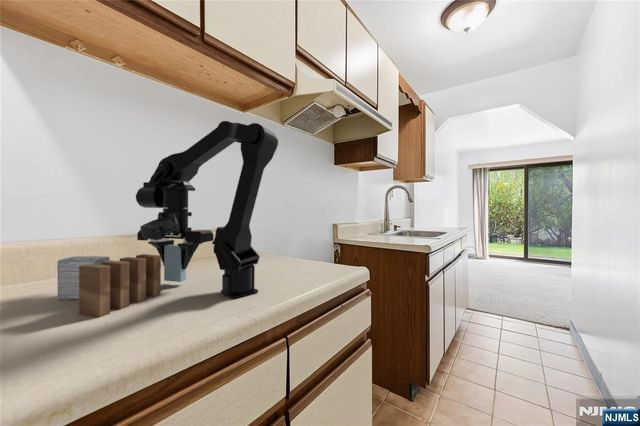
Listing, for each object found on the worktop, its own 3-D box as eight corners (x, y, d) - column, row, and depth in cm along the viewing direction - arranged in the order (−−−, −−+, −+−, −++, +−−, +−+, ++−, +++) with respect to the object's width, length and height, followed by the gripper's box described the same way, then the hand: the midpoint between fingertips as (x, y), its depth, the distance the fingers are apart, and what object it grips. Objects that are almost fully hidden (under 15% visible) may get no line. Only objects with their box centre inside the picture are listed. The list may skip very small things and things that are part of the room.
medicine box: (110, 293, 60) (110, 256, 60) (94, 300, 55) (94, 259, 55) (75, 293, 60) (75, 255, 60) (56, 300, 55) (56, 259, 55)
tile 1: (169, 278, 69) (169, 244, 68) (185, 280, 67) (186, 245, 67) (164, 280, 67) (164, 245, 67) (180, 282, 66) (180, 246, 66)
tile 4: (109, 303, 54) (110, 260, 53) (129, 306, 52) (129, 261, 52) (100, 306, 52) (100, 262, 52) (120, 309, 51) (120, 263, 51)
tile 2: (142, 292, 61) (143, 254, 61) (160, 294, 60) (160, 255, 60) (135, 294, 59) (135, 255, 59) (153, 296, 58) (154, 256, 58)
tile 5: (89, 310, 50) (89, 264, 50) (110, 313, 49) (110, 265, 49) (79, 314, 48) (79, 266, 48) (99, 317, 47) (100, 267, 47)
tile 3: (127, 297, 57) (127, 257, 57) (145, 299, 56) (146, 258, 56) (119, 300, 56) (119, 258, 55) (138, 302, 54) (138, 260, 54)
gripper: (116, 207, 61) (116, 273, 62) (183, 208, 57) (182, 279, 57) (156, 207, 72) (155, 263, 72) (215, 208, 68) (214, 268, 68)
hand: (175, 268), depth 67 cm, fingers closed on tile 1, 5 cm apart
